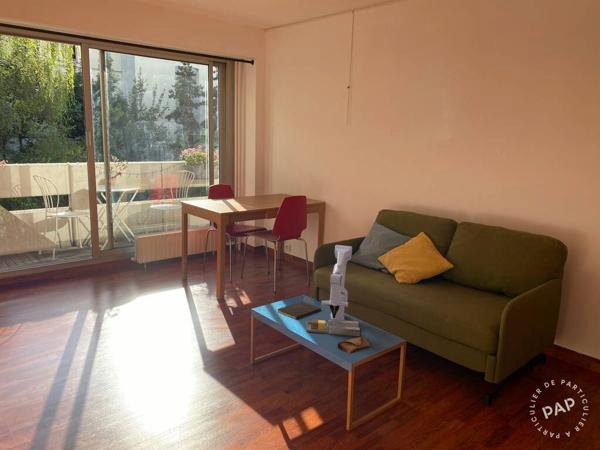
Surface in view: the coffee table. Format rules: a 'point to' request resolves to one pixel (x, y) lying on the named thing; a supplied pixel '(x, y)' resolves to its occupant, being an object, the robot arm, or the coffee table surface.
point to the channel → (343, 327)
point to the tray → (316, 329)
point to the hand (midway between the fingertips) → (333, 317)
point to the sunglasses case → (353, 345)
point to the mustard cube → (321, 324)
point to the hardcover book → (299, 310)
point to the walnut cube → (314, 324)
